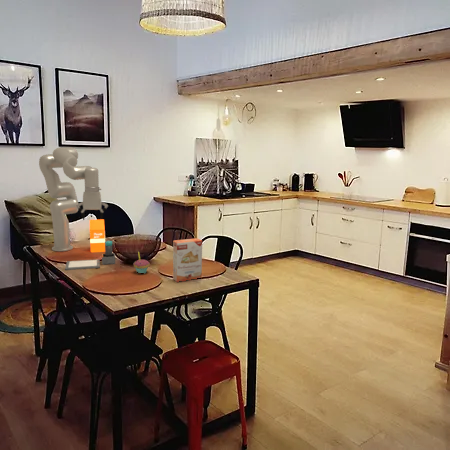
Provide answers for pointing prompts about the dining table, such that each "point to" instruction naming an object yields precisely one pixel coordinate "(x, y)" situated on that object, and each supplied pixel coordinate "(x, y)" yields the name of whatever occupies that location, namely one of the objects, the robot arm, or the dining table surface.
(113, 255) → the grey square block
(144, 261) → the cupcake
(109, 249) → the marker
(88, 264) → the writing board
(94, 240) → the orange juice
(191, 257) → the cracker box
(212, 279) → the dining table surface
